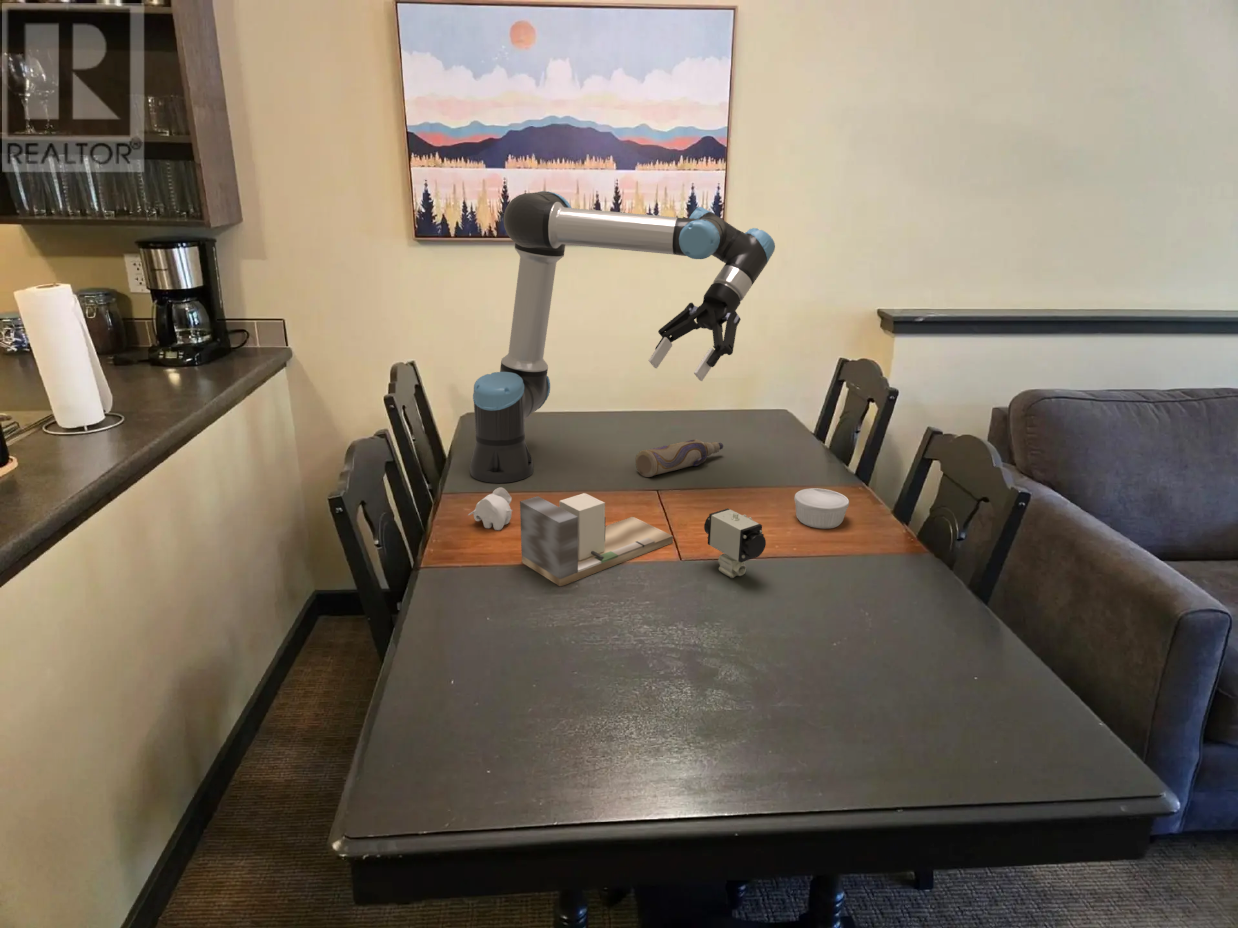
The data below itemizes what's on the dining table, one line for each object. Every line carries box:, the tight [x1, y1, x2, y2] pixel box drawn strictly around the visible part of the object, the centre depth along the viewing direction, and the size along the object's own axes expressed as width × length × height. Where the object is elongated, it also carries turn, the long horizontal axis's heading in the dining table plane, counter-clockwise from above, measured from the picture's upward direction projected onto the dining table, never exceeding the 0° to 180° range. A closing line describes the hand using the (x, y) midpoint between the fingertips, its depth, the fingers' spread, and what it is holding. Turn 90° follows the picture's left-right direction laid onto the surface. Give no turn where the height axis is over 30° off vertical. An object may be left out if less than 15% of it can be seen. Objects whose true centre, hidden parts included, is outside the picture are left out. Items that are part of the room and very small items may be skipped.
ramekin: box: [794, 487, 850, 529], centre depth 172 cm, size 11×11×5 cm
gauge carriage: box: [558, 492, 606, 560], centre depth 150 cm, size 9×8×10 cm
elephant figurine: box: [467, 486, 513, 531], centre depth 167 cm, size 8×10×7 cm
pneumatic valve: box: [703, 508, 767, 579], centre depth 148 cm, size 6×12×12 cm, turn 35°
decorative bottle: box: [635, 438, 724, 478], centre depth 201 cm, size 26×8×7 cm, turn 126°
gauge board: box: [519, 495, 674, 588], centre depth 154 cm, size 12×28×12 cm, turn 131°
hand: (674, 370), depth 171 cm, fingers open, 13 cm apart
